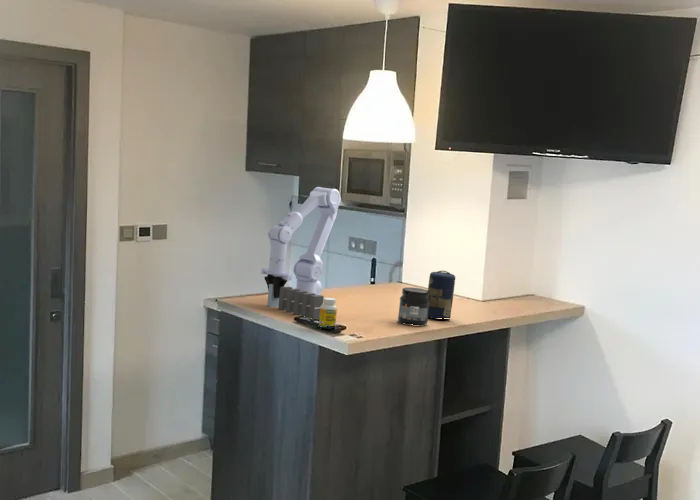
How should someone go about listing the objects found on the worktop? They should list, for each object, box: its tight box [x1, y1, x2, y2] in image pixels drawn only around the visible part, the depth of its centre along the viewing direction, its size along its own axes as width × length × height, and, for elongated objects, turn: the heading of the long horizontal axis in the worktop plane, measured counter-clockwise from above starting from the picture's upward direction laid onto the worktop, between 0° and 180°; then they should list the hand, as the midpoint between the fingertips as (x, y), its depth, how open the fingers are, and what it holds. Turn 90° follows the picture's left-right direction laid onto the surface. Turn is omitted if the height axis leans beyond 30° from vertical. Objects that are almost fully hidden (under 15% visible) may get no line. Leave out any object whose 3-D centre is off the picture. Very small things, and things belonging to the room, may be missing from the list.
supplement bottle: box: [318, 297, 338, 327], centre depth 245 cm, size 5×5×10 cm
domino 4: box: [293, 291, 308, 316], centre depth 263 cm, size 2×4×8 cm, turn 136°
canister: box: [427, 270, 456, 319], centre depth 280 cm, size 10×10×18 cm
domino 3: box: [285, 288, 300, 314], centre depth 266 cm, size 2×4×8 cm, turn 135°
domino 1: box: [266, 284, 279, 308], centre depth 273 cm, size 2×4×8 cm, turn 135°
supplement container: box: [397, 286, 430, 326], centre depth 267 cm, size 10×10×12 cm
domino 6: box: [308, 294, 325, 320], centre depth 258 cm, size 2×4×8 cm, turn 135°
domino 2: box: [277, 286, 293, 311], centre depth 269 cm, size 2×4×8 cm, turn 135°
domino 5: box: [300, 293, 316, 318], centre depth 260 cm, size 2×4×8 cm, turn 135°
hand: (274, 296), depth 273 cm, fingers open, 2 cm apart
